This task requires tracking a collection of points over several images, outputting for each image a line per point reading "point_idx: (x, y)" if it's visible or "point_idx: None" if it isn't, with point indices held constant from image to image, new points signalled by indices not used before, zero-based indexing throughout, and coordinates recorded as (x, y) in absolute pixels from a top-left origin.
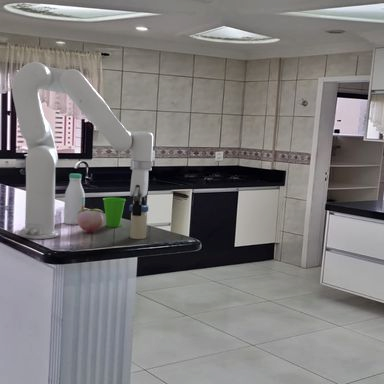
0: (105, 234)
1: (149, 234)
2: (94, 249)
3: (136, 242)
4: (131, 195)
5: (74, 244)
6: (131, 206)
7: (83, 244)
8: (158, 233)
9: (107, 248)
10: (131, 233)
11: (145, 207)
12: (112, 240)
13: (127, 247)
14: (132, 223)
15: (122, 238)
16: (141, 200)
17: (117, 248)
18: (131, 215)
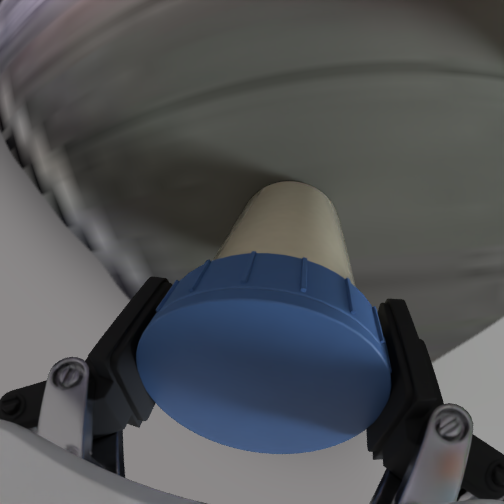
0: (333, 18)
1: (397, 281)
2: (6, 114)
3: (154, 235)
4: (64, 469)
5: (48, 8)
6: (151, 320)
7: (51, 33)
8: (424, 318)
9: (25, 148)
10: (252, 201)
11: (198, 429)
12: (156, 102)
13: (59, 214)
14: (230, 234)
15: (232, 141)
16: (119, 466)
17: (35, 182)
18: (231, 253)
